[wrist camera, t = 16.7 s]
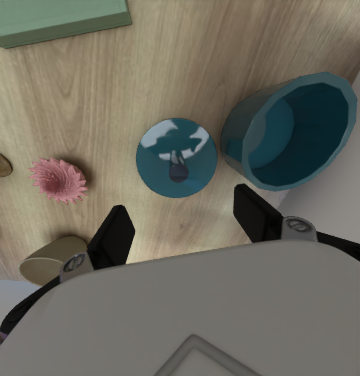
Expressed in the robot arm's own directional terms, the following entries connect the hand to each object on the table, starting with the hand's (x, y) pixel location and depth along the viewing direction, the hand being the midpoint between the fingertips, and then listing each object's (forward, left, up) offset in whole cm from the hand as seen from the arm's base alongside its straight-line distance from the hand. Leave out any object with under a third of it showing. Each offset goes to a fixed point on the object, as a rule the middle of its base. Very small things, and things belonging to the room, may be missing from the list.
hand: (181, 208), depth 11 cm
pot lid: (0, 0, -13) cm, 13 cm away
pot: (-14, -2, -13) cm, 20 cm away
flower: (+18, -1, -14) cm, 22 cm away
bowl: (+27, +15, -14) cm, 34 cm away
